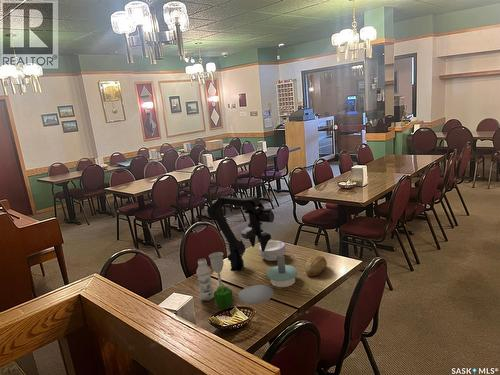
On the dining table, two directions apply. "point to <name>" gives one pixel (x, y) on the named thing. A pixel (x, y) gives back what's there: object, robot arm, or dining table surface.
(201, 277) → the plastic bottle
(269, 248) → the paper bowls
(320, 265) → the bread roll
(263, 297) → the mat
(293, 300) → the dining table surface
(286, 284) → the bowl
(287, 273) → the lid
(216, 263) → the chalice
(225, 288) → the bell pepper
